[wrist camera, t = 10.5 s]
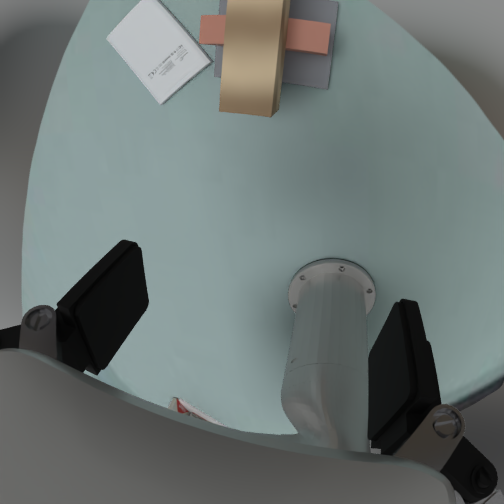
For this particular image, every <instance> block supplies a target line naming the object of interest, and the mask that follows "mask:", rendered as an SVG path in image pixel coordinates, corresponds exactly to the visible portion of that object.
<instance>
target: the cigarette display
mask: <svg viewBox="0 0 504 504" xmlns="http://www.w3.org/2000/svg"><path fill="white" fill-rule="evenodd" d="M168 409H171V410H173V411H176V412H179V413H182V414H185V415H188V416H191V417H194V418H198V419H201V420H204V421H207V422H211V423H214V424H218V425H221V426H225V425H224V424H222V423H220V422H219V421H217V420H215V419H213V418H212V417H210V416H208V415H207V414H205V413H203V412H202V411H200V410H198V409H197V408H195V407H194V406H192V405H190V404H189V403H187V402H186V401H184V400H183V399H177V398H173V399H172V401H171V402H170V404H169V406H168ZM225 427H227V426H225ZM228 428H229V427H228Z"/></svg>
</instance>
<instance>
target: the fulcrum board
mask: <svg viewBox="0 0 504 504" xmlns="http://www.w3.org/2000/svg"><path fill="white" fill-rule="evenodd" d="M337 9H338V2H336V1H330V0H290V10H289V19H288V29H287V39H286V48H285V57H284V67H283V76H282V83H290V84H297V85H303V86H310V87H316V88H321V89H328V82H329V75H330V67H331V60H332V52H333V44H334V36H335V27H336V18H337ZM226 11H227V0H220V5H219V15H202V16H201V25H200V38H199V44H208V45H216V54H215V69H214V77H221V74H222V60H223V46H224V34H225V22H226Z"/></svg>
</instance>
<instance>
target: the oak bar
mask: <svg viewBox="0 0 504 504" xmlns="http://www.w3.org/2000/svg"><path fill="white" fill-rule="evenodd" d="M289 10H290V0H227V11H226V22H225V34H224V46H223V60H222V74H221V90H220V107H219V112H230V113H240V114H249V115H258V116H266V117H272V116H273V115H274V114H275V113H276V112H277V111H278V110H279V103H280V94H281V85H282V76H283V67H284V57H285V48H286V39H287V29H288V19H289Z"/></svg>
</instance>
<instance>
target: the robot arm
mask: <svg viewBox="0 0 504 504" xmlns="http://www.w3.org/2000/svg"><path fill="white" fill-rule="evenodd" d="M375 297H376V292H375V286H374V283H373V280H372V279H371V277H370V275H369V274H368V273H367V272H366V271H365V270H364V269H362V268H361V267H360V266H358V265H356V264H354V263H351V262H349V261H345V260H339V259H325V260H320V261H315V262H313V263H310V264H308V265H306V266H305V267H303V268H302V269H300V270H299V271H298V272H297V273H296V274H295V275H294V277H293V279H292V280H291V283H290V286H289V291H288V300H289V304H290V306H291V308H292V310H293V311H294V312H295V314H296V315H295V320H294V326H293V332H292V337H291V343H290V348H289V353H288V358H287V364H286V369H285V374H284V379H283V384H282V389H281V403H282V407H283V410H284V412H285V414H286V416H287V417H288V419H289V421H290V422H291V423H292V425H293V426H294V427H295V429H296V430H297V431H298V433H297V434H281V435H275V434H264V433H254V432H245V431H240V430H236V429H232V428H228V427H225V426H221V425H218V424H214V423H211V422H207V421H204V420H201V419H198V418H194V417H191V416H188V415H185V414H182V413H179V412H176V411H173V410H171V409H168V408H165V407H162V406H159V405H157V404H154V403H151V402H149V401H146V400H144V399H141V398H139V397H136V396H134V395H131V394H129V393H126V392H124V391H122V390H119V389H117V388H115V387H112V386H110V385H108V384H106V383H104V382H101V381H99V380H97V379H95V378H93V377H91V376H88V375H86V374H84V373H83V372H84V371H85V369H86V370H87V371H89V372H91V373H93V374H95V375H98V374H99V372H100V371H101V369H102V370H104V369H105V368H106V367H107V366H108V364H109V363H110V361H111V360H112V358H113V357H114V355H115V354H116V352H117V351H118V349H119V348H120V346H121V345H122V344H123V342H124V341H125V339H126V338H127V336H128V335H129V333H130V332H131V331H132V329H133V328H134V326H135V325H136V324H137V322H138V321H139V319H140V318H141V316H142V315H143V314H144V312H145V311H146V309H147V307H148V304H149V299H148V293H147V286H146V280H145V273H144V265H143V258H142V250H141V248H140V247H138V244H137V243H136V242H132V241H128V240H121V241H120V242H119V243H118V244H117V245H116V246H115V247H113V248H112V249H111V250H110V251H109V252H108V253H107V254H106V255H105V256H104V257H103V258H102V259H101V260H100V261H99V262H98V263H97V264H96V265H95V266H93V267H92V268H91V269H90V270H89V271H88V272H87V273H86V274H85V275H84V276H83V277H82V278H81V279H80V280H79V281H78V282H77V283H76V284H75V285H74V286H73V287H72V288H71V289H70V290H69V291H68V292H67V293H66V295H65V296H64V297H63V298H62V299H61V300H60V301H59V302H58V303H57V306H58V308H57V309H56V310H54V309H53V308H52V307H50V306H48V305H39V306H36V307H33V308H32V309H30V310H29V311H28V312H27V313H26V314H25V315H24V317H23V319H22V322H21V325H17V326H13V327H10V328H6V329H2V330H0V504H504V496H503V494H502V492H501V490H498V491H497V490H496V485H497V480H498V477H497V472H496V469H495V467H494V466H493V464H492V463H491V462H490V461H489V460H488V459H487V458H486V457H485V456H484V455H483V454H482V453H480V452H479V451H478V450H477V449H476V448H475V447H474V446H473V445H472V444H471V443H470V442H469V441H468V440H467V439H466V438H465V437H464V436H463V435H464V432H465V421H464V418H463V416H462V414H461V413H460V412H459V411H458V410H457V409H456V408H455V407H453V406H451V405H448V404H441V398H440V391H439V385H438V379H437V374H436V368H435V363H434V358H433V353H432V348H431V345H430V342H429V341H427V339H426V335H425V330H424V326H423V322H422V318H421V314H420V310H419V306H418V303H417V302H416V301H412V300H407V299H401V300H400V302H395V303H394V305H393V307H392V310H391V312H390V314H389V316H388V318H387V320H386V322H385V324H384V326H383V328H382V330H381V332H380V334H379V336H378V338H377V340H376V342H375V343H374V345H373V347H372V349H371V351H370V354H369V357H368V343H367V321H366V316H367V315H368V313H369V312H370V311H371V309H372V308H373V306H374V303H375ZM370 440H371V448H378V449H381V454H373V453H371V450H370Z"/></svg>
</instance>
